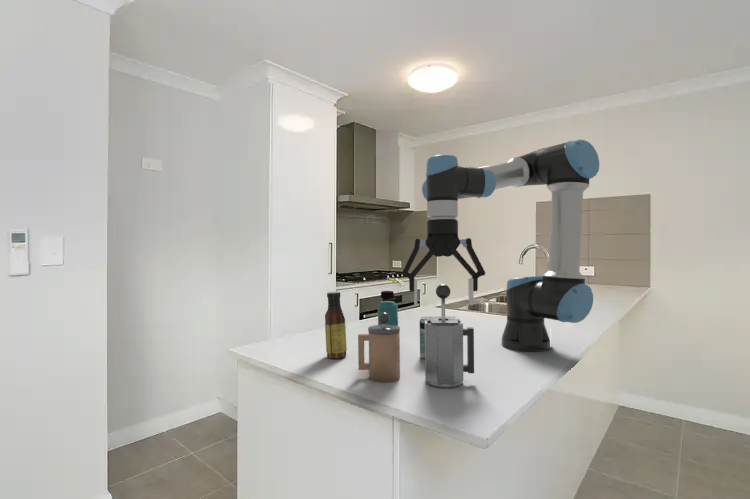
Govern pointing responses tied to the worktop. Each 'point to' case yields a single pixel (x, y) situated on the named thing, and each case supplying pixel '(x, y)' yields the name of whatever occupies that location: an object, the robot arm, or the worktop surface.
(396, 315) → the beverage bottle
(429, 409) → the worktop surface
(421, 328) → the beer can
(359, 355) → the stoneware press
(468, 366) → the steel carafe
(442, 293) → the plunger
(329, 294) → the sauce bottle
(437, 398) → the worktop surface
